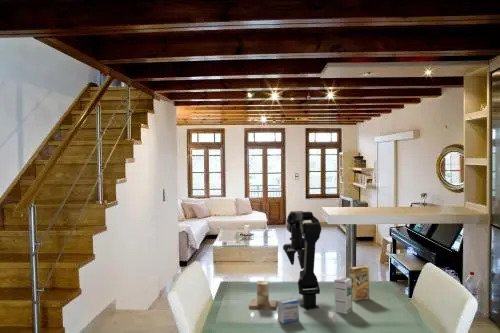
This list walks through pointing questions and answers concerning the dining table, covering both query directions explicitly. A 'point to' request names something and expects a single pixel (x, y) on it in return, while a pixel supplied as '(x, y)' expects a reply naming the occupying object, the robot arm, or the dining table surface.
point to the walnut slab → (270, 306)
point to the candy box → (359, 282)
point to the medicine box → (288, 310)
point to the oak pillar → (262, 293)
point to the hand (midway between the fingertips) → (297, 266)
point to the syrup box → (343, 295)
